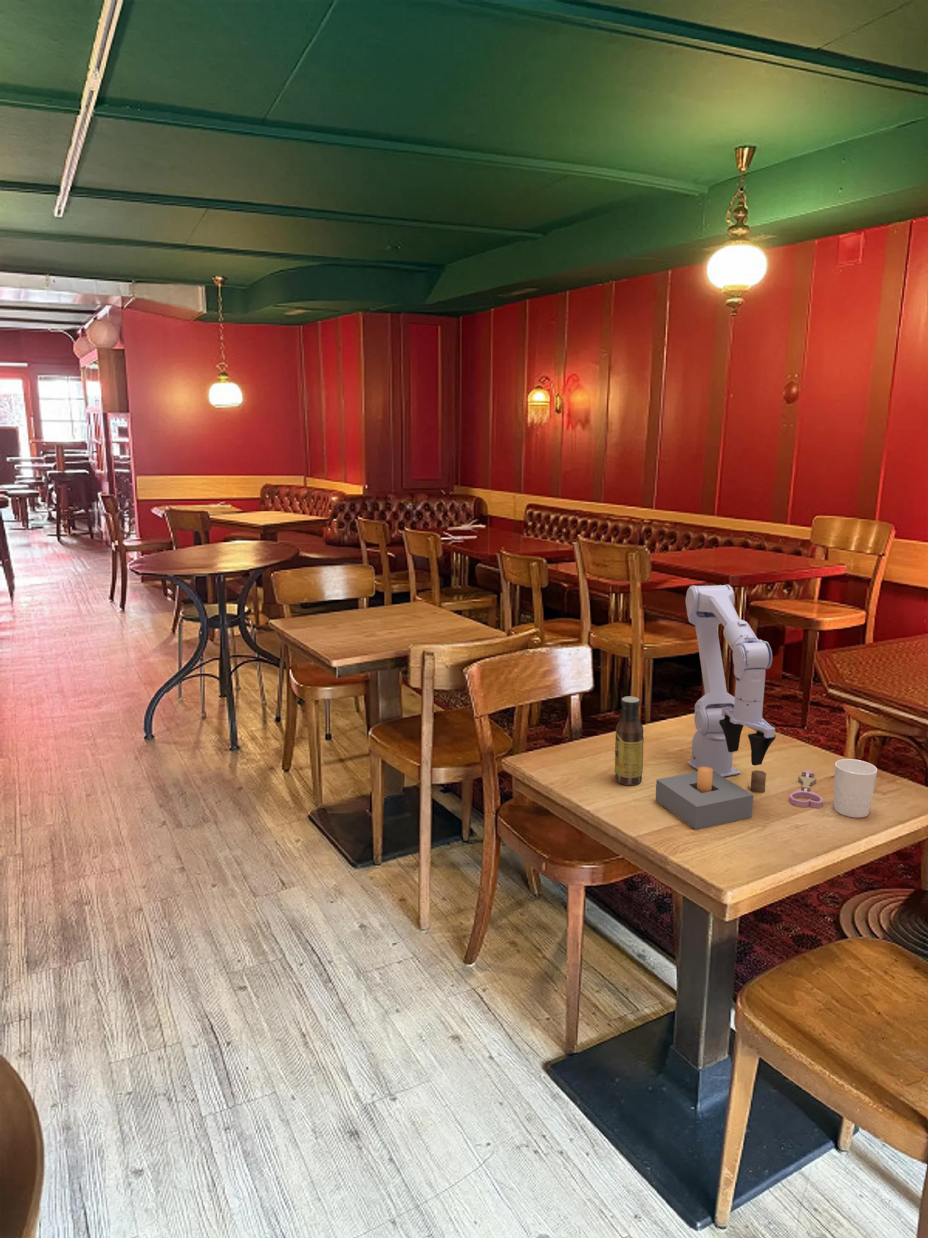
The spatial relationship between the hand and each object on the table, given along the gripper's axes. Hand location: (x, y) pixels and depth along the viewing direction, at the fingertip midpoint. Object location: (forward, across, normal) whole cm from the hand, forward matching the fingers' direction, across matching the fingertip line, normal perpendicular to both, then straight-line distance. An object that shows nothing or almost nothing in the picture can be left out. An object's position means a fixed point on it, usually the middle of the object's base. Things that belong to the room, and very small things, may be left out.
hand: (744, 757), depth 175 cm
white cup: (+10, +14, +17) cm, 24 cm away
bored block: (+9, +1, -11) cm, 15 cm away
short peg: (+9, -2, +6) cm, 11 cm away
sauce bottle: (+10, -17, -18) cm, 27 cm away
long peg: (+9, +1, -11) cm, 15 cm away
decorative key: (+9, +3, +18) cm, 21 cm away
